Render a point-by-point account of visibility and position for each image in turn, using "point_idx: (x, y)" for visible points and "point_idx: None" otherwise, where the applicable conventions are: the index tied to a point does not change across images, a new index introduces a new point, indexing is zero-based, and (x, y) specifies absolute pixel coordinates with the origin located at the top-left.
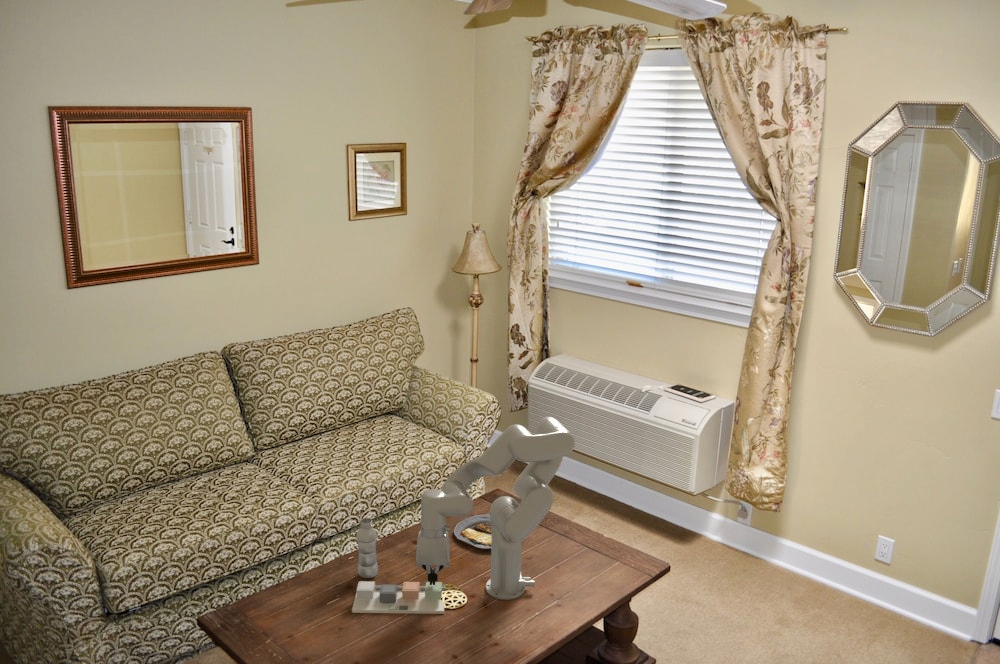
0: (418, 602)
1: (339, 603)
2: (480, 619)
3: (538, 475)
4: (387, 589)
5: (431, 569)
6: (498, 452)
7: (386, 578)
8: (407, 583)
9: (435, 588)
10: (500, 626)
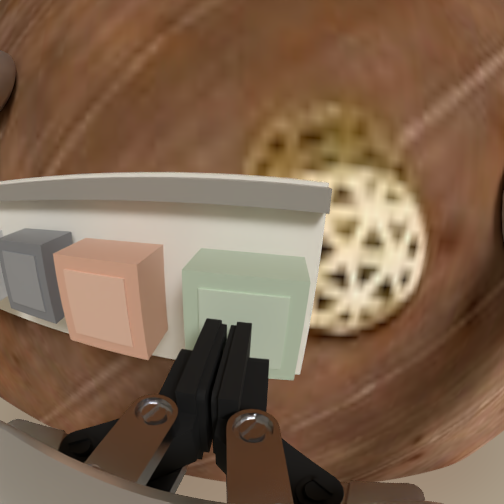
0: (174, 305)
1: None
2: (425, 388)
3: None
4: (21, 287)
5: (188, 450)
6: None
7: (43, 87)
8: (72, 278)
9: (254, 356)
10: (459, 407)
